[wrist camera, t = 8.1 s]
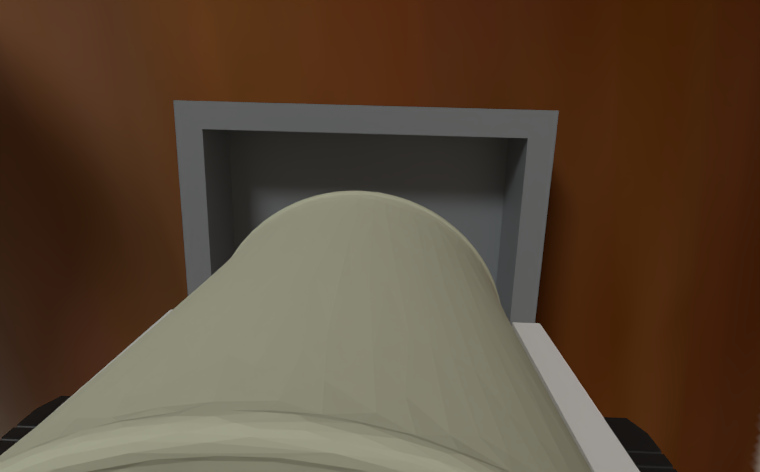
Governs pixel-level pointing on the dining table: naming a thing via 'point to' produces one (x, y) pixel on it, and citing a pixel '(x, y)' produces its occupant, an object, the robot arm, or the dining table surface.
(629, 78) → the dining table surface
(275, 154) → the tray
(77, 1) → the dining table surface
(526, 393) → the can
